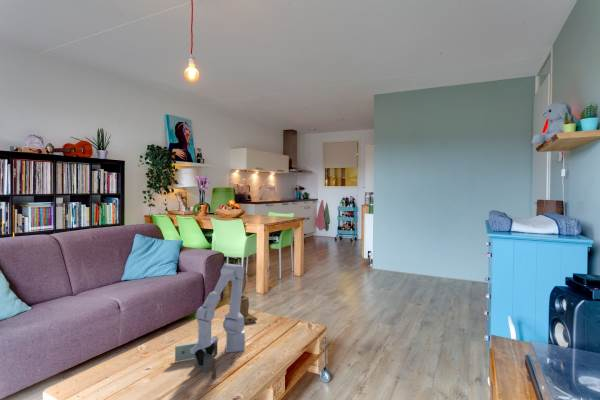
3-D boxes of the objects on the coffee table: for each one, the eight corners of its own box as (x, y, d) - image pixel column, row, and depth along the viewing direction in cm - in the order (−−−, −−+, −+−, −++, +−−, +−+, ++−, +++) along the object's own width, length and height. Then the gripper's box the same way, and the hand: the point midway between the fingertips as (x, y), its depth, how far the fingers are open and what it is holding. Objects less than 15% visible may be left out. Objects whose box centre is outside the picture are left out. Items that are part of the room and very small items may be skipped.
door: (216, 352, 162) (216, 338, 162) (216, 354, 160) (216, 340, 159) (175, 359, 154) (175, 345, 154) (175, 362, 152) (175, 347, 152)
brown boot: (229, 318, 207) (230, 295, 206) (246, 314, 214) (246, 291, 213) (240, 326, 194) (240, 301, 194) (257, 322, 201) (258, 298, 201)
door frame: (217, 351, 164) (217, 336, 163) (215, 378, 140) (215, 360, 140) (213, 352, 163) (213, 336, 163) (211, 379, 140) (211, 361, 140)
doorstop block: (213, 368, 148) (213, 355, 148) (206, 372, 145) (206, 359, 145) (201, 363, 153) (201, 351, 152) (194, 367, 149) (194, 354, 149)
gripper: (210, 325, 156) (210, 353, 157) (185, 337, 144) (185, 367, 145) (221, 329, 153) (221, 357, 153) (196, 341, 140) (196, 372, 141)
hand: (204, 362), depth 149 cm, fingers closed on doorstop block, 4 cm apart
